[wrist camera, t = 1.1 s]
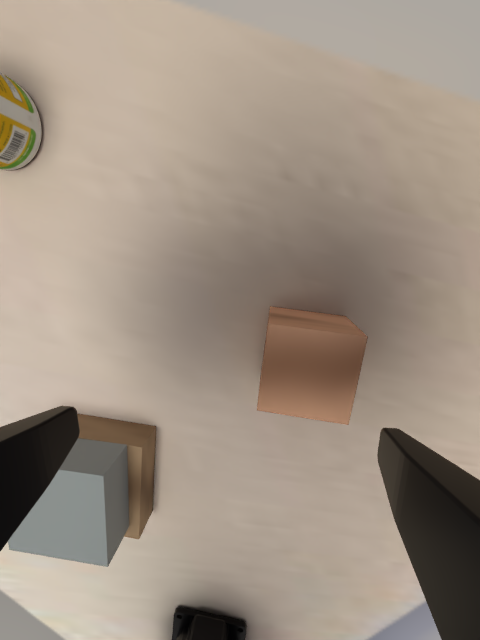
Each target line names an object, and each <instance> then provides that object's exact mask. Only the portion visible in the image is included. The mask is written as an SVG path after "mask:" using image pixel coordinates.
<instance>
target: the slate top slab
mask: <svg viewBox="0 0 480 640" xmlns="http://www.w3.org/2000/svg"><path fill="white" fill-rule="evenodd" d="M128 528H129V499H128V461H127V445H126V444H118V443H111V442H103V441H96V440H88V439H81V438H78V439H77V441H76V443H75V444H74V446H73V448H72V449H71V451H70V452H69V454H68V456H67V457H66V459H65V461H64V462H63V464H62V465H61V467H60V469H59V470H58V472H57V474H56V475H55V477H54V478H53V480H52V481H51V483H50V485H49V486H48V487H47V489H46V490H45V492H44V493H43V494H42V496H41V497H40V499H39V500H38V501H37V503H36V504H35V505H34V507H33V508H32V509H31V511H30V512H29V513H28V515H27V516H26V517H25V519H24V520H23V521H22V523H21V524H20V526H19V527H18V528H17V530H16V531H15V532H14V534H13V535H12V536H11V538H10V539H9V540H8V544H9V550H14V551H19V552H25V553H31V554H37V555H42V556H48V557H54V558H59V559H65V560H71V561H77V562H82V563H88V564H94V565H100V566H105V567H108V566H109V564H110V562H111V560H112V558H113V556H114V554H115V552H116V550H117V548H118V547H119V545H120V543H121V541H122V539H123V537H124V535H125V533H126V531H127V529H128Z"/></svg>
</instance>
